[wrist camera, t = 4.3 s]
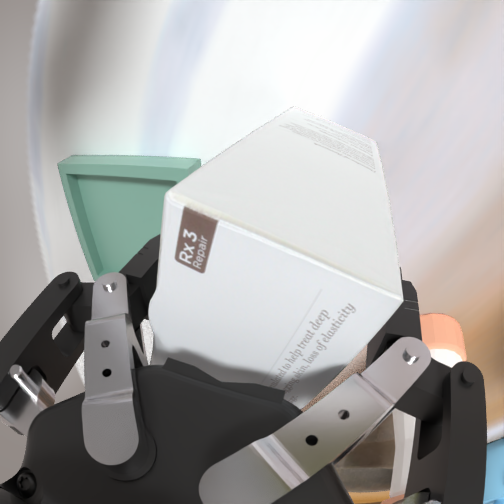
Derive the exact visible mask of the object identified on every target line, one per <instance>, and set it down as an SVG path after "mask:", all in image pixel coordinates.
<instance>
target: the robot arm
mask: <svg viewBox="0 0 504 504" xmlns="http://www.w3.org/2000/svg"><path fill="white" fill-rule="evenodd" d="M160 236H161V234H159V235H157V236H155V237H154V238H152V239H150V240H149V241H148V242H147V243H146V244H145V245H144V246H143V248H141V249H140V250H139V251H138V252H137V254H135V255H134V256H133V258H132V259H131V260H130V261H129V262H128V263H127V264H126V265H125V266H124V267H123V268H122V269H121V270H120V271H119V273H118V272H111V273H107V274H104V275H102V276H101V277H99V278H98V279H97V280H96V281H95V283H81V282H80V279H79V277H78V275H77V274H76V273H74V272H65V273H62V274H60V275H58V276H57V277H55V278H54V279H53V280H52V281H51V283H50V284H49V285H48V286H47V287H46V288H45V289H44V290H43V291H42V292H41V294H40V295H39V296H38V297H37V298H36V299H35V300H34V302H33V303H32V304H31V305H30V306H29V307H28V308H27V310H26V311H25V312H24V313H23V314H22V315H21V317H20V318H19V319H18V320H17V321H16V323H15V324H14V325H13V326H12V328H11V329H10V330H9V331H8V333H7V334H6V335H5V336H4V338H3V339H2V340H1V342H0V420H1V421H2V422H3V423H4V424H6V425H8V426H9V427H11V428H12V429H13V430H14V431H16V432H17V433H18V434H21V435H25V436H27V445H26V451H25V456H24V460H23V463H22V466H21V468H20V470H19V471H18V473H17V474H16V475H15V476H13V477H12V478H11V479H9V480H8V481H6V482H4V483H2V484H0V504H354V503H353V501H352V499H351V497H350V495H349V493H348V492H347V490H346V488H345V486H344V484H343V482H342V480H341V478H340V476H339V475H338V473H337V471H336V469H335V467H334V466H335V465H336V464H338V463H339V462H340V461H341V460H342V459H344V458H345V457H346V456H347V455H348V454H349V453H350V452H352V451H353V450H354V449H355V448H356V447H357V446H358V445H359V444H360V443H361V442H362V441H363V440H364V439H365V438H366V437H367V436H368V435H369V434H370V433H371V432H373V431H374V430H375V429H376V428H377V427H378V426H379V425H380V424H381V423H382V422H383V421H384V420H385V419H386V418H387V417H388V416H389V415H390V414H391V413H392V411H393V410H394V409H397V410H400V411H402V412H404V413H406V414H408V415H411V416H413V417H415V418H416V420H415V430H414V439H413V447H412V454H411V461H410V468H409V473H408V479H407V485H406V490H405V495H404V498H403V499H401V500H399V501H396V502H394V503H393V504H483V500H484V490H485V478H486V460H487V420H486V401H485V388H484V379H483V375H482V373H481V371H480V370H479V369H478V368H477V367H476V366H475V365H474V364H472V363H470V362H467V361H461V362H458V363H456V364H455V365H454V366H453V367H452V368H451V367H449V366H447V365H445V364H442V363H440V362H438V361H436V360H435V359H433V358H432V357H431V353H430V350H429V348H428V347H427V346H426V344H425V343H423V342H422V333H421V323H420V315H419V307H418V303H417V302H418V299H417V292H416V290H415V288H414V287H413V285H412V284H411V282H410V281H405V280H402V273H401V267H400V275H401V285H402V292H403V302H402V304H401V305H400V306H399V308H398V309H397V310H396V311H395V312H394V314H393V315H392V316H391V317H390V318H389V320H388V321H387V322H386V323H385V324H384V325H383V327H382V328H381V329H380V330H379V331H378V332H377V333H376V335H375V336H374V337H373V338H372V339H371V340H370V341H369V342H368V345H367V359H366V370H365V371H363V372H362V373H361V374H359V373H358V372H356V373H354V374H353V375H351V376H350V377H349V378H348V379H346V380H345V381H344V382H343V383H341V384H340V385H339V386H338V387H336V388H335V389H334V390H333V391H331V392H330V393H329V394H328V395H326V396H325V397H324V398H322V399H321V400H320V401H318V402H317V403H316V404H314V405H313V406H312V407H310V408H309V409H308V410H306V411H305V412H302V411H301V410H300V409H299V408H298V407H297V406H295V405H294V404H292V403H291V402H289V401H287V400H285V399H284V396H285V390H280V389H276V388H272V387H268V386H264V385H260V384H256V383H237V382H222V381H219V380H217V379H215V378H214V377H212V376H210V375H209V374H207V373H205V372H204V371H202V370H200V369H199V368H197V367H196V366H193V365H190V364H187V363H184V362H181V361H178V360H175V359H172V358H169V357H168V358H167V360H166V362H165V363H164V365H148V361H147V356H146V350H145V343H144V336H143V329H142V325H141V322H142V321H143V319H147V320H149V315H148V309H149V303H150V300H151V298H152V297H153V295H154V293H155V291H156V285H157V273H158V261H159V250H160ZM63 315H64V317H65V319H66V320H67V323H66V324H65V325H64V327H63V328H62V329H61V331H60V332H59V333H58V335H57V336H56V337H55V339H54V340H53V339H52V330H53V328H54V327H55V325H56V324H57V323H58V322H59V320H60V319H61V318H62V317H63ZM83 351H84V376H85V392H83V393H81V394H78V395H76V396H74V397H72V398H69V399H67V400H64V401H62V402H60V403H57V404H54V402H55V394H56V392H57V391H58V389H59V388H60V386H61V384H62V383H63V381H64V379H65V378H66V377H67V375H68V374H69V372H70V370H71V369H72V367H73V366H74V364H75V363H76V361H77V360H78V358H79V357H80V355H81V354H82V353H83Z"/></svg>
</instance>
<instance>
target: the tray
mask: <svg viewBox="0 0 504 504" xmlns="http://www.w3.org/2000/svg"><path fill="white" fill-rule="evenodd" d="M200 167H201V159H195V158H179V157H159V156H128V155H72V156H70V157H68V158H66V159H65V160H63V161H61V162H59V163H58V169H59V173H60V177H61V181H62V184H63V188H64V192H65V196H66V199H67V203H68V206H69V210H70V213H71V216H72V219H73V223H74V226H75V229H76V232H77V235H78V238H79V241H80V244H81V247H82V250H83V252H84V255H85V258H86V261H87V263H88V266H89V269H90V271H91V274H92V277H93V279H94V281H96V280H97V279H98V278H99V277H101V276H102V275H104V274H107V273H111V272H118V273H119V271H120V270H121V269H122V268H123V267H124V266H125V265H126V264H127V263H128V262H129V261H130V260H131V259H132V258H133V256H134V255H135V254H137V252H138V251H139V250H140V249H141V248H143V246H144V245H145V244H146V243H147V242H148V241H149V240H150V239H152V238H154V237H155V236H157V235H159V234H161V224H162V215H163V204H164V196H165V193H166V192H167V191H168V190H170V189H171V188H172V187H174V186H175V185H176V184H178V183H179V182H181V181H182V180H183V179H185V178H186V177H187V176H189V175H190V174H192V173H193V172H194V171H196V170H197V169H198V168H200Z"/></svg>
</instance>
